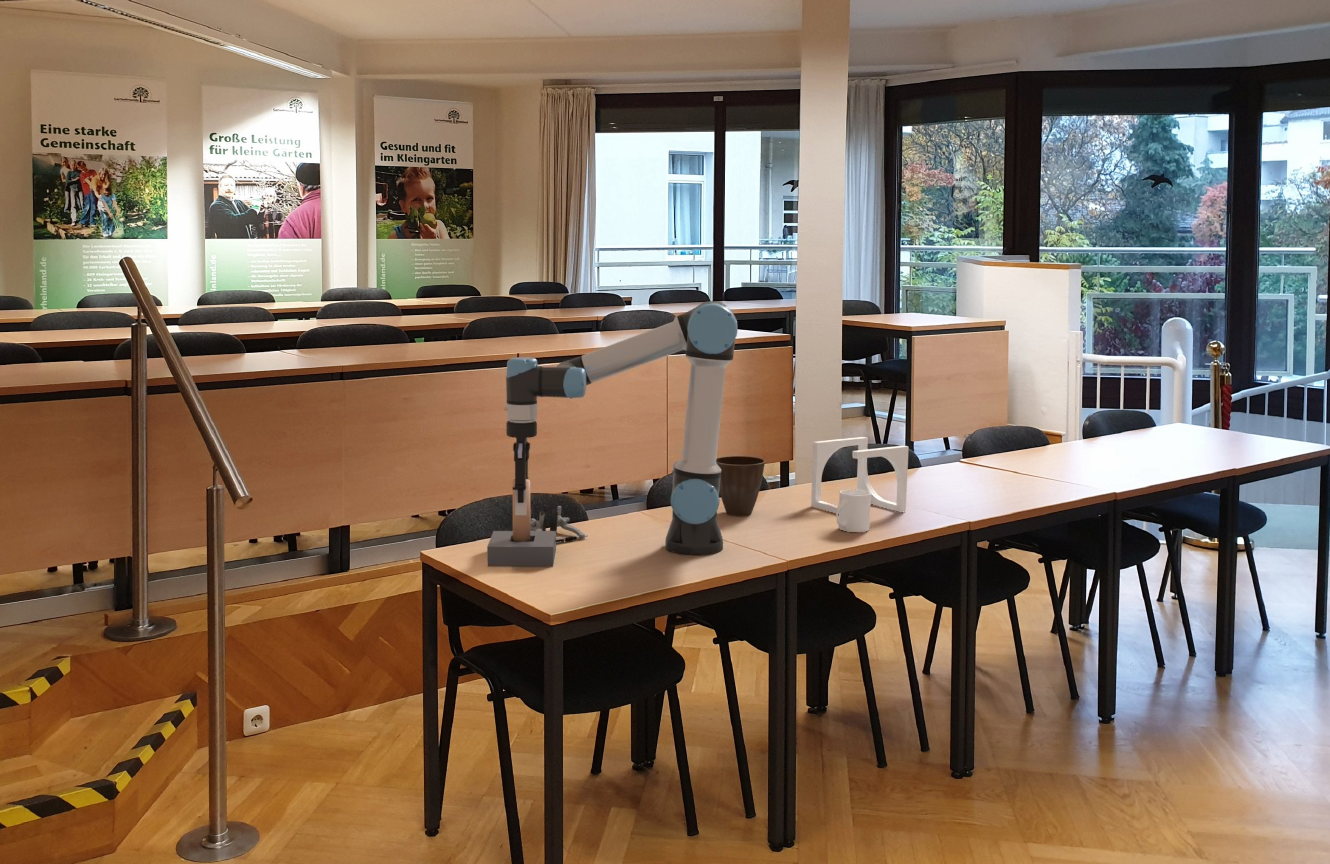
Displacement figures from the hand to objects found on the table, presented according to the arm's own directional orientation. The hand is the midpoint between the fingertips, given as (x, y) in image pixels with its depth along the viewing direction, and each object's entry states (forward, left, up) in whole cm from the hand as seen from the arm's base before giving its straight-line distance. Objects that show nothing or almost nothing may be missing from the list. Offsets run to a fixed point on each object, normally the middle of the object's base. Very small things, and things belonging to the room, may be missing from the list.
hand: (521, 512), depth 296 cm
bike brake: (-8, -20, -12) cm, 25 cm away
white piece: (-97, -56, -12) cm, 113 cm away
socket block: (0, 0, -12) cm, 12 cm away
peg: (0, 0, -7) cm, 7 cm away
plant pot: (-60, -50, -12) cm, 79 cm away
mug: (-89, -29, -12) cm, 95 cm away
